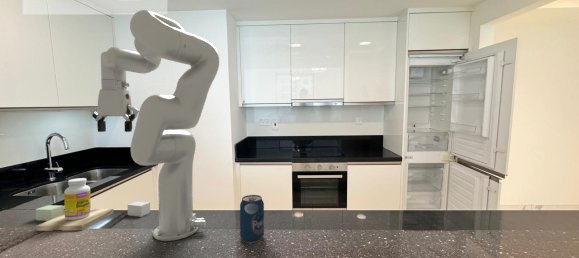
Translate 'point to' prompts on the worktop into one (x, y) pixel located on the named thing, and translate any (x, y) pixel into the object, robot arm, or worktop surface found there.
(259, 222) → the soda can
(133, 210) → the white block
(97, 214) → the birch board
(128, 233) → the worktop surface
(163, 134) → the robot arm
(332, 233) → the worktop surface
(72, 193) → the supplement bottle
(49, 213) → the green block
